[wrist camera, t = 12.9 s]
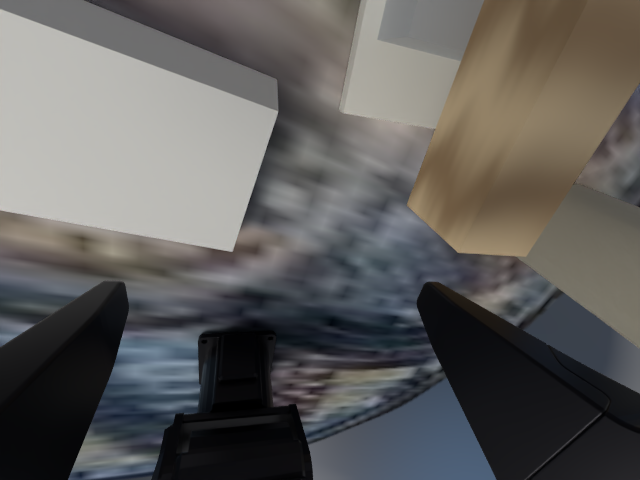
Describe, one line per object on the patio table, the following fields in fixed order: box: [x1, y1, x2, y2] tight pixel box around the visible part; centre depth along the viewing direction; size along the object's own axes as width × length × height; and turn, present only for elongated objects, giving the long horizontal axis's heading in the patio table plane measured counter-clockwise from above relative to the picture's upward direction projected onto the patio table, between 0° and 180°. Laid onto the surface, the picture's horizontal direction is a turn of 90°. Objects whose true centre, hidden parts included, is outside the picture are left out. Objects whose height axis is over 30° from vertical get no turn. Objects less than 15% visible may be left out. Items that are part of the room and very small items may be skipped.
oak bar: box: [407, 0, 640, 257], centre depth 11 cm, size 18×4×5 cm, turn 168°
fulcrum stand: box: [339, 0, 484, 129], centre depth 15 cm, size 10×12×4 cm
